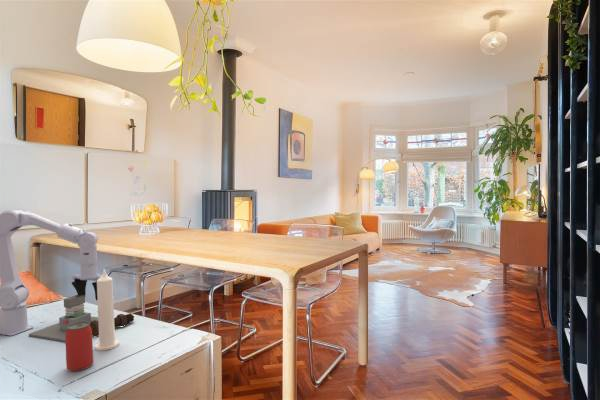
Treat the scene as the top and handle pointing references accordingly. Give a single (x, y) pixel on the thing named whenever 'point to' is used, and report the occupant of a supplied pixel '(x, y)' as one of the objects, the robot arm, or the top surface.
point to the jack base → (61, 327)
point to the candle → (106, 314)
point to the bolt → (118, 321)
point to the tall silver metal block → (74, 306)
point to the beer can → (79, 346)
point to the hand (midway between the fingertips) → (90, 299)
